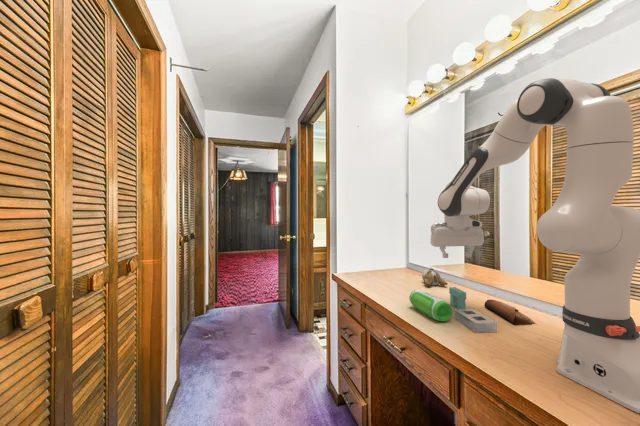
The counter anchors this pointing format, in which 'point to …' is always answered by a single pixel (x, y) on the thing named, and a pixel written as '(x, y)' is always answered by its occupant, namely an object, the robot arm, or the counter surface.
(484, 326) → the grey slotted block
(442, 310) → the speaker
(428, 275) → the ceramic sculpture
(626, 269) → the robot arm
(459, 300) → the clip
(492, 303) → the brown tapered cylinder
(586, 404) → the counter surface
